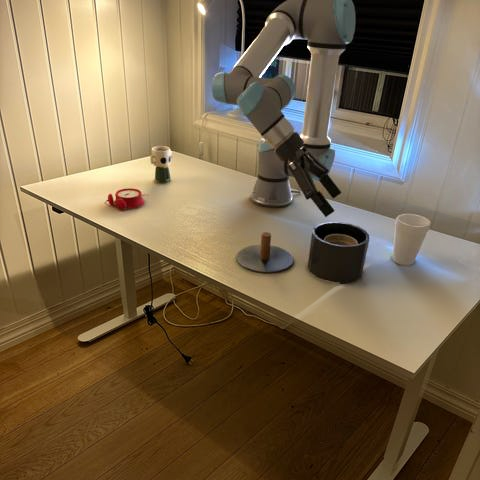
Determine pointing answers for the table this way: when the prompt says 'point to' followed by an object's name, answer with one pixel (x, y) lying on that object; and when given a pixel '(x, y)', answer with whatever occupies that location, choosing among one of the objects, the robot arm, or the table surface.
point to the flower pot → (340, 239)
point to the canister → (337, 253)
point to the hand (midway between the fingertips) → (333, 204)
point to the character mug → (161, 162)
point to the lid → (264, 257)
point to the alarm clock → (126, 199)
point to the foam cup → (409, 237)
